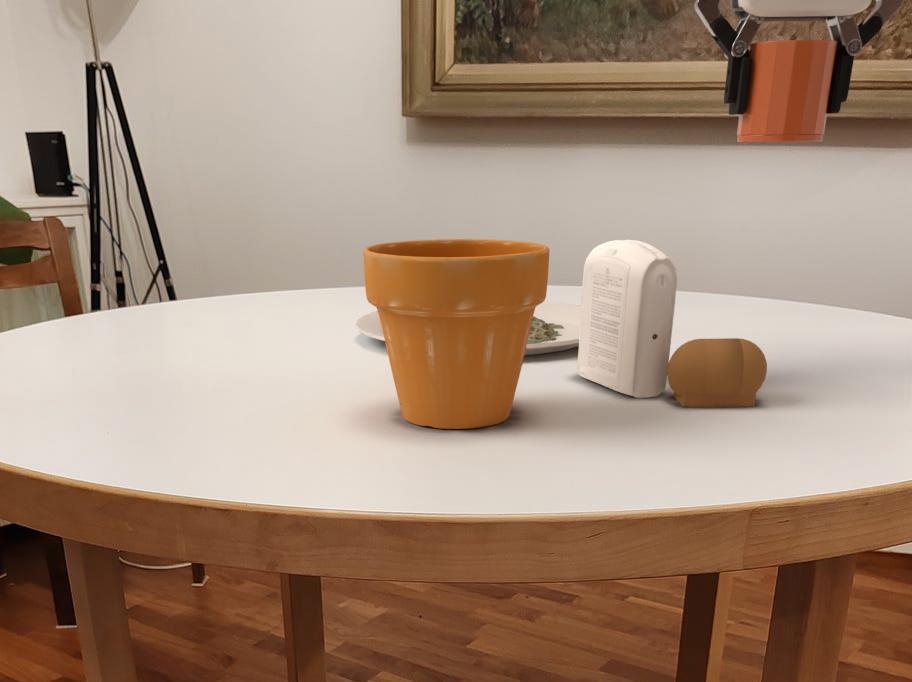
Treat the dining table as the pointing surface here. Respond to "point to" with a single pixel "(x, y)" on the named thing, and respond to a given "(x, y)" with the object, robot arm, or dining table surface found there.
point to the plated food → (548, 331)
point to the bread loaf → (717, 373)
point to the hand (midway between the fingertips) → (783, 111)
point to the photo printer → (627, 317)
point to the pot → (788, 91)
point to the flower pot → (456, 323)
